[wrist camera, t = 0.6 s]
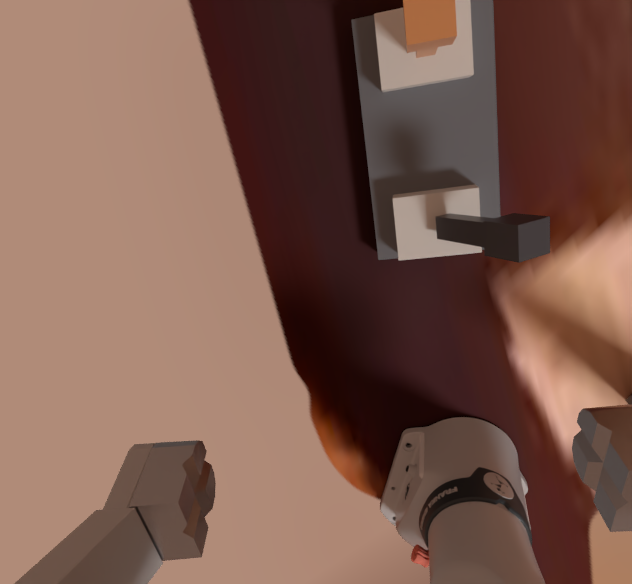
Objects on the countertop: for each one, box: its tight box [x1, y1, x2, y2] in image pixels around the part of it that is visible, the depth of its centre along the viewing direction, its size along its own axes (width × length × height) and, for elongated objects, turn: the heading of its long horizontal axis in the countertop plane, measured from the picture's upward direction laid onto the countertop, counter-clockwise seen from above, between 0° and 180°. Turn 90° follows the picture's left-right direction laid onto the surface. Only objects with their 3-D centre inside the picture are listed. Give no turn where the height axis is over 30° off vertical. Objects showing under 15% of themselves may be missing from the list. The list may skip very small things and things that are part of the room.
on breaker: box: [435, 213, 550, 262], centre depth 46 cm, size 3×4×12 cm
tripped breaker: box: [403, 0, 457, 58], centre depth 40 cm, size 3×4×12 cm
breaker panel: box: [351, 0, 500, 260], centre depth 52 cm, size 26×14×6 cm, turn 9°
